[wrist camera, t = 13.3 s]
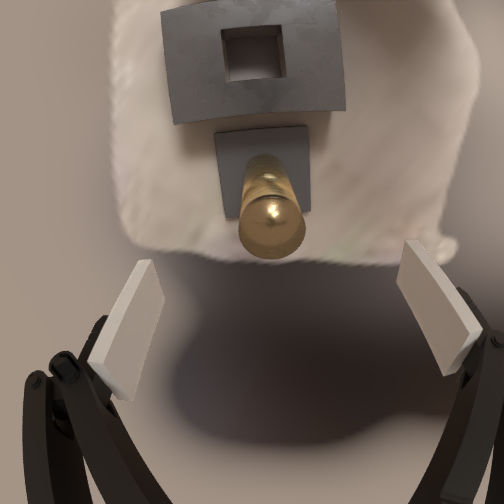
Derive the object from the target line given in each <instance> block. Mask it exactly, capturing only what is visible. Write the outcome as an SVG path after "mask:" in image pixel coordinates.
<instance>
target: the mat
mask: <svg viewBox="0 0 504 504" xmlns="http://www.w3.org/2000/svg"><path fill="white" fill-rule="evenodd" d="M214 138H215V145H216V153H217V160H218V167H219V174H220V181H221V188H222V195H223V202H224V209H225V215H226V218H232V217H240V211H241V202H242V194H243V185H244V176H245V169H246V166H247V164H248V162H249V161H250V160H251V159H252V158H253V157H255V156H257V155H260V154H270V155H273V156H275V157H277V158H278V159H279V160H280V161H281V162H282V164H283V166H284V168H285V171H286V173H287V176H288V178H289V181H290V184H291V186H292V189H293V191H294V194H295V197H296V199H297V202H298V205H299V207H300V210H301V212H307V211H311V199H310V161H309V138H308V126H290V127H273V128H260V129H248V130H238V131H229V132H221V133H215V134H214Z"/></svg>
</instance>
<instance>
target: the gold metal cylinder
mask: <svg viewBox="0 0 504 504" xmlns="http://www.w3.org/2000/svg"><path fill="white" fill-rule="evenodd" d="M305 231H306V227H305V221H304V218H303V216H302V213H301V210H300V207H299V205H298V202H297V199H296V197H295V194H294V191H293V189H292V186H291V184H290V181H289V178H288V176H287V173H286V171H285V168H284V166H283V164H282V162H281V161H280V160H279V159H278V158H277V157H275V156H273V155H270V154H260V155H257V156H255V157H253V158H252V159H251V160H250V161H249V162H248V164H247V166H246V169H245V176H244V185H243V194H242V202H241V211H240V221H239V237H240V240H241V242H242V244H243V246H244V247H245V248H246V249H247V250H248V251H249V252H250V253H251V254H253V255H255V256H257V257H259V258H263V259H280V258H283V257H286V256H288V255H290V254H292V253H293V252H294V251H295V250H297V248H298V247H299V246H300V245H301V243H302V241H303V239H304V237H305Z"/></svg>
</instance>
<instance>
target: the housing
mask: <svg viewBox="0 0 504 504" xmlns="http://www.w3.org/2000/svg"><path fill="white" fill-rule="evenodd" d="M160 13H161V24H162V35H163V45H164V54H165V63H166V71H167V79H168V87H169V94H170V102H171V108H172V115H173V122H174V125H176V124H182V123H188V122H194V121H200V120H207V119H214V118H221V117H229V116H238V115H248V114H259V113H273V112H292V111H346V101H345V84H344V70H343V59H342V49H341V40H340V31H339V24H338V16H337V10H336V3H335V0H216V1H210V2H204V3H198V4H193V5H188V6H183V7H179V8H174V9H170V10H166V11H162V12H160ZM270 35H277V40H278V48H279V58H280V67H281V77H282V78H265V79H252V80H242V81H233V82H230V75H229V66H228V57H227V48H226V39H234V38H243V37H254V36H270Z"/></svg>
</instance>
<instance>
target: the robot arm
mask: <svg viewBox="0 0 504 504" xmlns="http://www.w3.org/2000/svg"><path fill="white" fill-rule="evenodd" d="M396 283H397V284H398V286H399V288H400V290H401V292H402V293H403V295H404V297H405V299H406V301H407V303H408V304H409V306H410V308H411V310H412V312H413V314H414V316H415V317H416V319H417V321H418V323H419V325H420V327H421V329H422V331H423V333H424V335H425V337H426V339H427V341H428V343H429V345H430V348H431V350H432V352H433V354H434V356H435V358H436V361H437V363H438V365H439V367H440V370H441V371H442V374H443V376H446V375H449V374H452V373H455V372H457V370H458V369H459V367H460V366H461V365H462V364H463V366H464V368H465V370H464V371H463V373H462V374H461V375H460V377H459V378H458V379H457V381H456V383H455V384H458V382H459V381H460V383H459V387H458V390H457V393H456V397H455V400H454V403H453V406H452V409H451V412H450V415H449V418H448V421H447V423H446V426H445V429H444V431H443V434H442V436H441V439H440V441H439V444H438V446H437V448H436V451H435V453H434V455H433V457H432V460H431V462H430V464H429V466H428V468H427V470H426V472H425V474H424V476H423V478H422V480H421V482H420V484H419V485H418V487H417V489H416V491H415V493H414V495H413V496H412V498H411V500H410V502H409V503H408V504H473V500H474V498H475V495H476V493H477V491H478V488H479V486H480V483H481V481H482V478H483V475H484V472H485V470H486V467H487V464H488V461H489V458H490V455H491V451H492V448H493V445H494V450H493V459H492V466H491V474H490V480H489V486H488V491H487V495H486V500H485V504H504V334H503V333H502V332H500V331H498V330H492V329H491V327H490V326H489V325H488V323H487V321H486V320H485V318H484V317H483V315H482V314H481V312H480V311H479V309H477V306H476V305H475V304H474V303H473V301H472V299H471V298H470V297H469V295H468V294H467V293H466V292H465V291H464V290H462V289H461V288H460V287H458V288H455V287H454V286H453V284H452V283H451V281H450V280H449V279H448V278H447V276H446V275H445V273H444V272H443V271H442V270H441V268H439V266H438V264H437V263H436V262H435V261H434V259H433V258H432V257H431V256H430V254H429V253H428V252H427V251H426V249H425V248H424V247H423V246H422V245H421V243H420V242H419V241H418V240H417V239H415V240H405V244H404V249H403V254H402V259H401V263H400V268H399V272H398V276H397V280H396ZM165 300H166V299H165V296H164V293H163V291H162V288H161V285H160V282H159V279H158V276H157V273H156V271H155V268H154V265H153V262H152V259H149V260H139V261H138V262H137V264H136V266H135V268H134V270H133V272H132V273H131V275H130V277H129V279H128V280H127V282H126V284H125V286H124V288H123V289H122V291H121V293H120V295H119V297H118V299H117V301H116V303H115V305H114V306H113V309H112V311H111V312H110V314H109V315H103V316H102V317H101V318H100V319H99V320H98V321H97V322H96V323H95V325H94V327H93V329H92V331H91V332H92V333H90V335H89V337H88V340H87V341H86V343H85V345H84V347H83V349H82V352H81V353H80V356H79V358H78V360H77V359H76V358H75V356H74V355H73V354H72V353H71V352H69V351H62V352H59V353H57V354H56V355H55V356H54V357H53V358H52V359H51V361H50V363H49V371H50V372H51V373H52V375H53V377H48V376H47V375H46V374H45V373H44V372H43V371H40V370H37V371H35V372H32V373H31V374H30V375H29V376H28V378H27V379H26V382H25V389H24V401H23V425H22V426H23V428H22V429H23V430H22V431H23V432H22V434H23V435H22V436H23V438H22V441H23V464H24V476H25V485H26V492H27V500H28V504H93V501H92V497H91V493H90V489H89V485H88V480H87V476H86V471H85V466H84V460H83V456H84V459H85V461H86V464H87V466H88V468H89V470H90V472H91V475H92V477H93V479H94V481H95V483H96V485H97V487H98V489H99V491H100V493H101V495H102V497H103V499H104V501H105V503H106V504H173V503H172V502H171V501H170V499H169V498H168V497H167V495H166V494H165V492H164V491H163V490H162V488H161V487H160V485H159V484H158V482H157V481H156V479H155V478H154V476H153V475H152V473H151V471H150V470H149V468H148V467H147V465H146V464H145V462H144V461H143V459H142V457H141V455H140V454H139V452H138V450H137V449H136V447H135V445H134V443H133V441H132V440H131V438H130V436H129V434H128V432H127V430H126V428H125V426H124V425H123V423H122V421H121V419H120V417H119V415H118V413H117V411H116V408H115V406H114V404H113V402H112V401H111V400H110V397H111V394H112V393H113V394H114V395H115V396H116V398H117V399H119V400H126V401H133V400H134V396H135V393H136V389H137V385H138V382H139V379H140V376H141V372H142V369H143V366H144V363H145V359H146V357H147V353H148V350H149V347H150V344H151V341H152V338H153V335H154V332H155V329H156V326H157V323H158V320H159V317H160V314H161V312H162V309H163V306H164V303H165Z"/></svg>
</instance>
